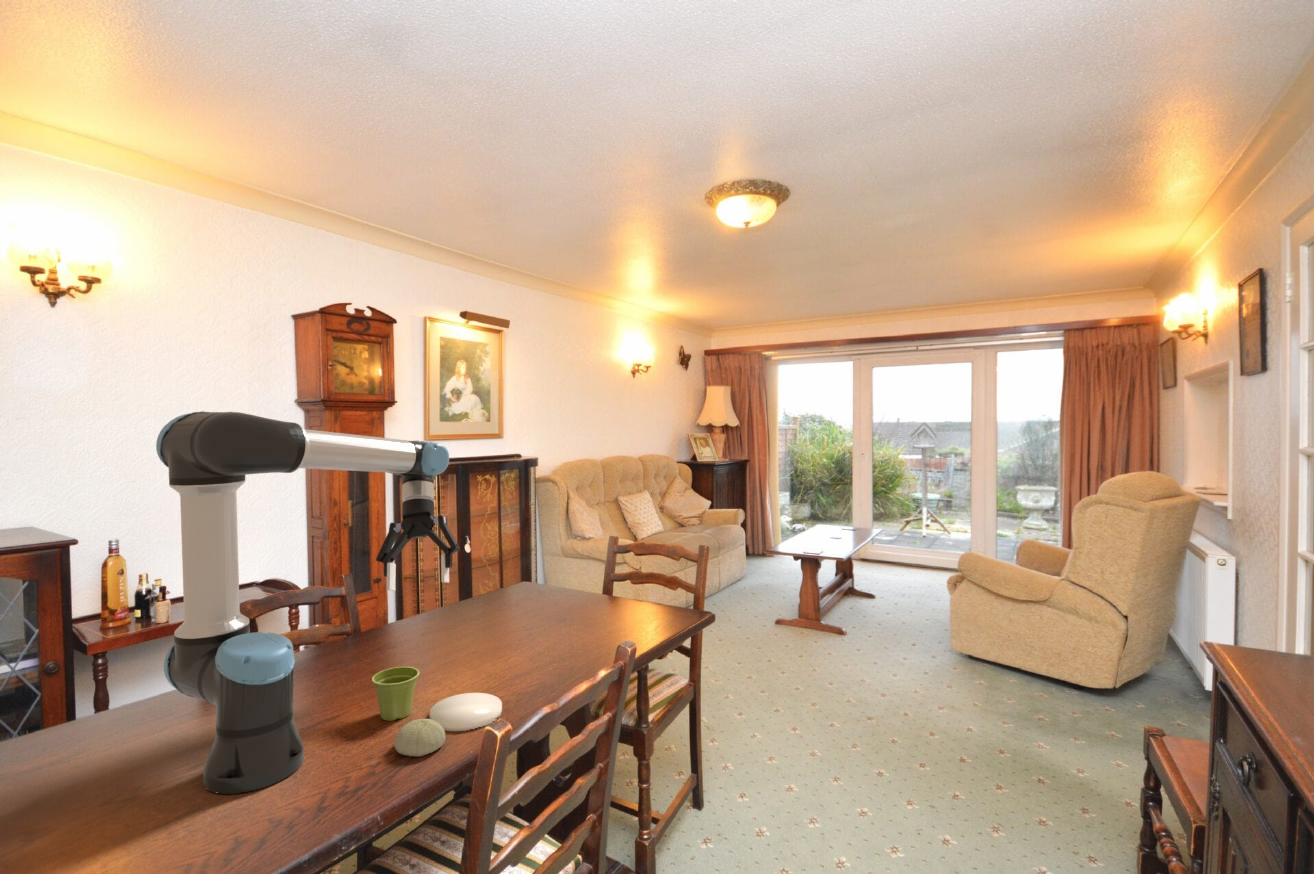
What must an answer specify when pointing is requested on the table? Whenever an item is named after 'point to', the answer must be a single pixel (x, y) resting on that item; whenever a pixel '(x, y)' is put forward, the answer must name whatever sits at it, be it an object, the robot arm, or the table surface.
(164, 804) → the table surface
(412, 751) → the sea urchin shell
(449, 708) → the white flat rounded piece
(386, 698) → the plant pot
